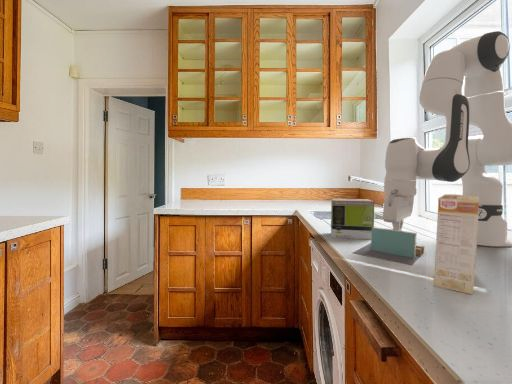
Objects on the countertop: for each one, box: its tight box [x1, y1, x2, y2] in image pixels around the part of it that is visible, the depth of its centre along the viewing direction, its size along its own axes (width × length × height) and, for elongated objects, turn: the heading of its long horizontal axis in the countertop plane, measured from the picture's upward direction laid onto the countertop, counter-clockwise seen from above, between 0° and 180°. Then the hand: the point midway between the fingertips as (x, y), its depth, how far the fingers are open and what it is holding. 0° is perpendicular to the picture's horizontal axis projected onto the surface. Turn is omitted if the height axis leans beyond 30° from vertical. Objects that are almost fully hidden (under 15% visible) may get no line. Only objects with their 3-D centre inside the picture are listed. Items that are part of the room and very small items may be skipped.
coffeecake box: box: [433, 193, 479, 295], centre depth 63 cm, size 15×7×20 cm, turn 141°
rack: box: [415, 244, 425, 257], centre depth 87 cm, size 5×14×2 cm, turn 49°
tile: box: [370, 226, 417, 258], centre depth 82 cm, size 2×12×7 cm, turn 49°
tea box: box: [330, 198, 375, 240], centre depth 106 cm, size 15×10×15 cm
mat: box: [352, 242, 424, 266], centre depth 83 cm, size 17×16×1 cm
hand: (397, 233), depth 86 cm, fingers closed
